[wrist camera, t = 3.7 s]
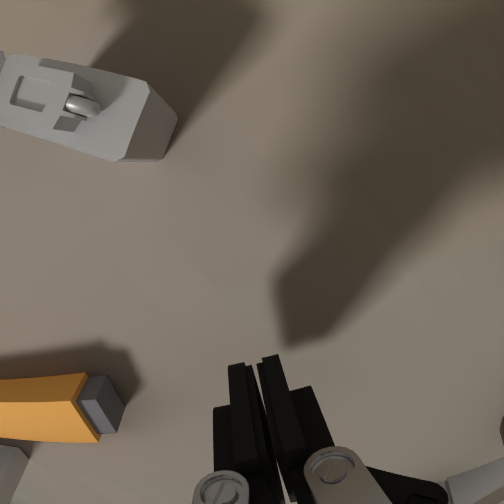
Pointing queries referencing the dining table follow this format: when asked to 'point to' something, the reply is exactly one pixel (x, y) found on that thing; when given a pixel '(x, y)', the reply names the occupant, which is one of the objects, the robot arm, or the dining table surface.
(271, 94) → the dining table surface
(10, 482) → the open box
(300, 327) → the dining table surface
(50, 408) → the orange cartridge
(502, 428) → the plant pot
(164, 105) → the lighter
